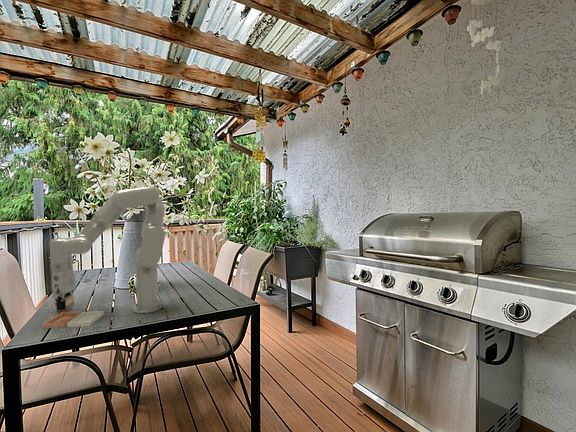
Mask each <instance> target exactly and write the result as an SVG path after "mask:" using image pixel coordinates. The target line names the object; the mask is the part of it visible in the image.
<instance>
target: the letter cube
mask: <svg viewBox="0 0 576 432" xmlns="http://www.w3.org/2000/svg"><path fill="white" fill-rule="evenodd" d="M60 297H61V296H60ZM74 298H75V297H74V294H73V295H67V296H64V301H65V307H66V309H65V310H69V309H70V308H74V307H75V299H74ZM54 310H55V312H57V306H56V301H55V300H54ZM59 311H61V310H59Z"/></svg>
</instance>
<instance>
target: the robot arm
mask: <svg viewBox="0 0 576 432" xmlns="http://www.w3.org/2000/svg"><path fill="white" fill-rule="evenodd" d="M137 207H138V208H139V207H144V208H145V215H144V220H143V225H142V229H141V232H140V233H141V234H140V235H141V238H142V240H141V244H140V247H138V248H137V249H136V250H135V251H136V252H135V254H134V261H135V262H134V263H135V276H136V277H135V279H136V280H135V282H136V285H135V286H136V287H135V288H136V290H135V293H136V306H134V307H133V310H132V311H133V313H134V314H135V313H136V314H148V313H154V312H157V311H159V310H160V309H161V308H162V306H167V304H168V303H167V300H160V297H158V296H159V295H158V264H159V263H160V260H161V257H162V253H163V248H164V243H165V239H166V236H165V235H166V234H165V230H164V228H163V225H164V218H165V205H164V202H163V200H162V198H161V197H160V193H159V190H158V189H156V188H155V187H152V186H146V187H145V186H144V187H137V188H129V189H128V188H127V189H126V188H125V189H118V190H116V191H115V192H113V194H112V195H111V196H110V197H109V198H108V199H107V200H106V201H105V203H104V204H102V206H100V207H99V209H98V210H97V211H96V212H95V214H94V215H93V216H92V217H91V218H90V220H89V221H88V222H87V224H86V225H84V227H83V228H82V230H80V231H79V232H78V234H77V235H76V236H75V237H73V238H68V237H59V238H52V239H51V240H49V253H50V254H49V255H50V269H51V292H52V296H51V297H52V298H53V299H54V302H55V301H56V306H57V311H59V310H65V309H66V307H65V301H64V295H65V296H67V295H74V294H73V292H74V290H75V289H76V288H77V284H76V277H75V272H74V267H73V266H74V265H73V255H83V254H87V253H88V252H90V251H91V249H92V245H93V244H94V243H95V242H96V241H97V239H99V237H100V236H102V234H103V233H104V232H105V231H107V230H109V228H111V227H112V226H113V225H114V223H115V222H116V221H118V219H119V218H120V216H122V215H123V213H124V212H125V211H126V210H127V209H130V208H137ZM58 293H61V294H58ZM59 295H61V297H60V296H59ZM57 311H56V312H57Z"/></svg>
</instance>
